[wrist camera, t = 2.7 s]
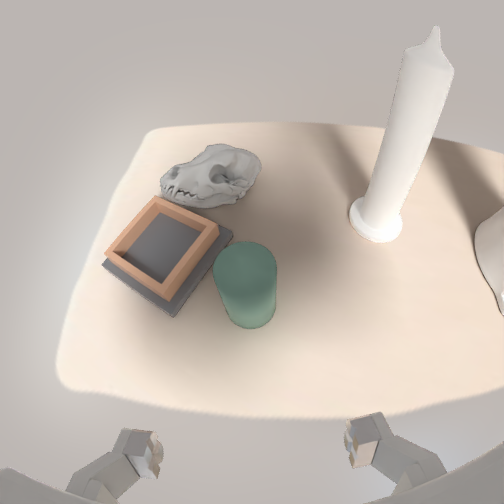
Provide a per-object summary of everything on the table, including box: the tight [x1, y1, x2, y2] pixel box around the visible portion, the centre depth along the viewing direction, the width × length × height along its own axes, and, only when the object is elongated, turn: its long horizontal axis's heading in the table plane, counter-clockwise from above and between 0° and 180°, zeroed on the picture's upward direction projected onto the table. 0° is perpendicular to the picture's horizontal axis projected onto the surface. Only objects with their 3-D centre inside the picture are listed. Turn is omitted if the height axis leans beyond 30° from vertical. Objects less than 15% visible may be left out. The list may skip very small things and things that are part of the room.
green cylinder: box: [213, 241, 277, 329], centre depth 26 cm, size 5×5×8 cm
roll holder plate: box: [102, 196, 233, 318], centre depth 32 cm, size 12×12×3 cm
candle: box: [349, 25, 454, 243], centre depth 24 cm, size 7×7×25 cm
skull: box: [160, 144, 262, 209], centre depth 35 cm, size 8×9×12 cm
